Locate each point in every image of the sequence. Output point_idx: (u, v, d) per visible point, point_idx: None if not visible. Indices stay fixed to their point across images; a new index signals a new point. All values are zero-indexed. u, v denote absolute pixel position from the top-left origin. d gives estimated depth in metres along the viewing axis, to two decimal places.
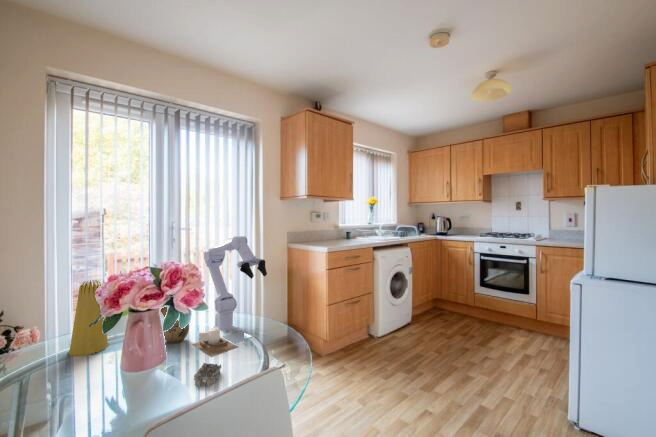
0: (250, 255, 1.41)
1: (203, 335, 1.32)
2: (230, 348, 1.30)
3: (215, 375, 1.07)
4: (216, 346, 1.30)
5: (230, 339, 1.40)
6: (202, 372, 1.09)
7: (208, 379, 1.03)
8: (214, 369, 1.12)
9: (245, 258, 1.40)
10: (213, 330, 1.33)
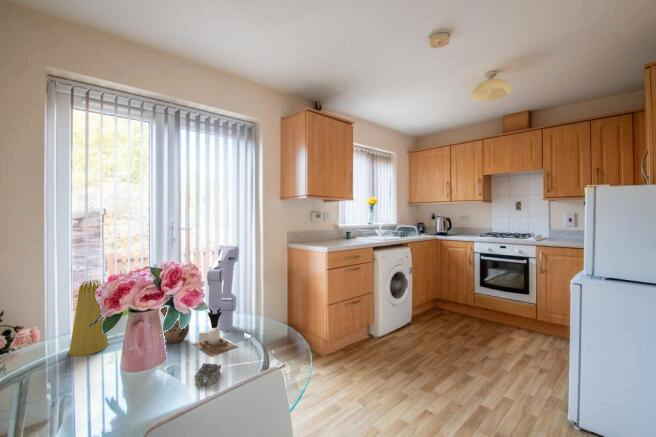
0: None
1: (203, 335, 1.32)
2: (230, 348, 1.30)
3: (215, 375, 1.07)
4: (216, 346, 1.30)
5: (230, 339, 1.40)
6: (202, 372, 1.08)
7: (209, 379, 1.03)
8: (214, 369, 1.12)
9: None
10: (213, 330, 1.33)
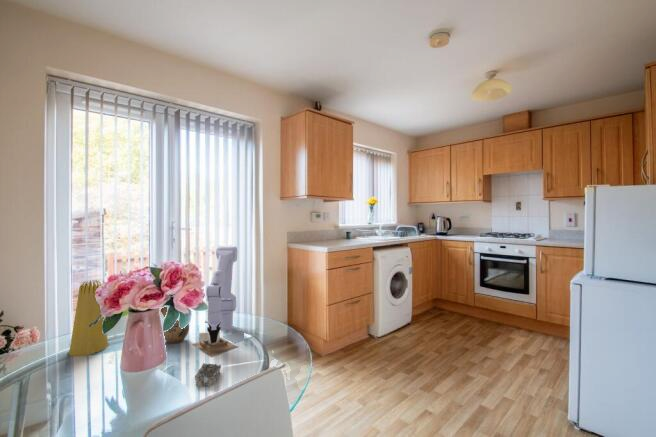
0: None
1: (203, 335, 1.32)
2: (230, 348, 1.30)
3: (216, 375, 1.07)
4: (216, 346, 1.30)
5: (230, 339, 1.40)
6: (202, 372, 1.08)
7: (209, 379, 1.03)
8: (214, 369, 1.12)
9: None
10: None
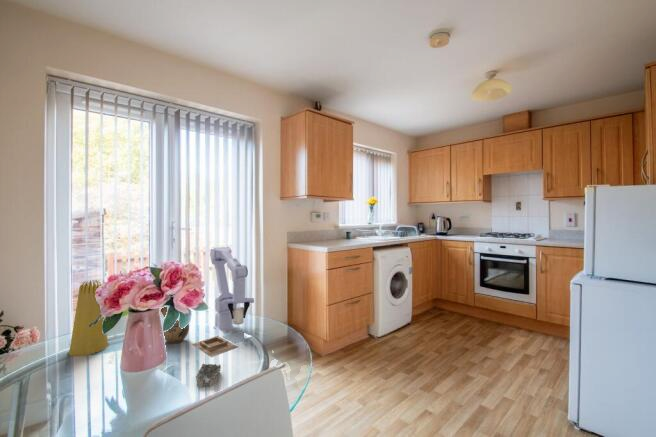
0: (237, 297, 1.41)
1: None
2: (230, 348, 1.30)
3: (216, 375, 1.07)
4: (216, 346, 1.30)
5: (230, 339, 1.40)
6: (202, 373, 1.08)
7: (211, 379, 1.03)
8: (213, 369, 1.12)
9: (233, 297, 1.42)
10: (241, 308, 1.44)
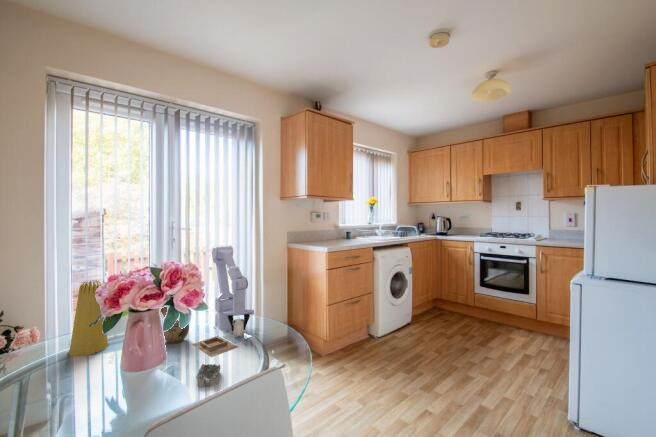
0: (238, 309, 1.41)
1: None
2: (230, 348, 1.30)
3: (216, 375, 1.07)
4: (216, 346, 1.30)
5: (230, 339, 1.40)
6: (202, 373, 1.08)
7: (212, 379, 1.03)
8: (213, 369, 1.12)
9: (233, 309, 1.42)
10: (241, 320, 1.44)
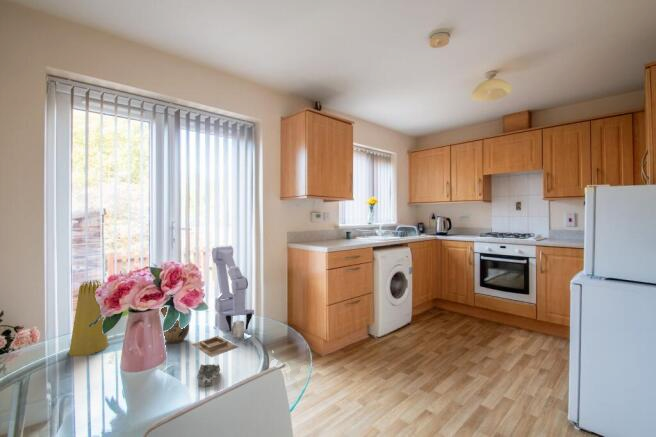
0: (238, 309, 1.41)
1: None
2: (230, 348, 1.30)
3: None
4: (216, 346, 1.30)
5: (230, 339, 1.40)
6: (202, 373, 1.08)
7: (213, 379, 1.03)
8: (212, 369, 1.12)
9: (233, 309, 1.42)
10: (241, 322, 1.44)
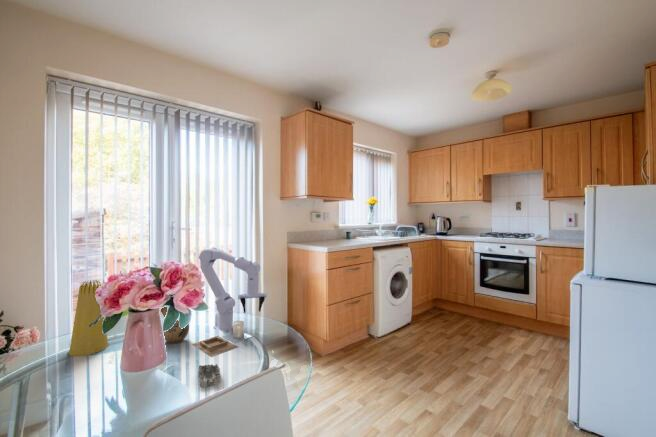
0: (251, 292, 1.51)
1: None
2: (230, 348, 1.30)
3: None
4: (216, 346, 1.30)
5: (230, 339, 1.40)
6: (201, 374, 1.07)
7: (215, 378, 1.04)
8: (210, 370, 1.12)
9: (247, 292, 1.52)
10: (241, 322, 1.44)
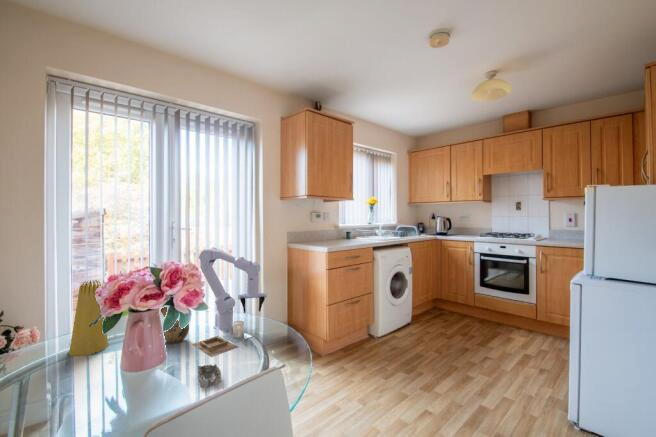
0: (251, 292, 1.51)
1: None
2: (230, 348, 1.30)
3: None
4: (216, 346, 1.30)
5: (230, 339, 1.40)
6: (201, 374, 1.07)
7: (216, 378, 1.04)
8: None
9: (247, 292, 1.52)
10: (241, 322, 1.44)
